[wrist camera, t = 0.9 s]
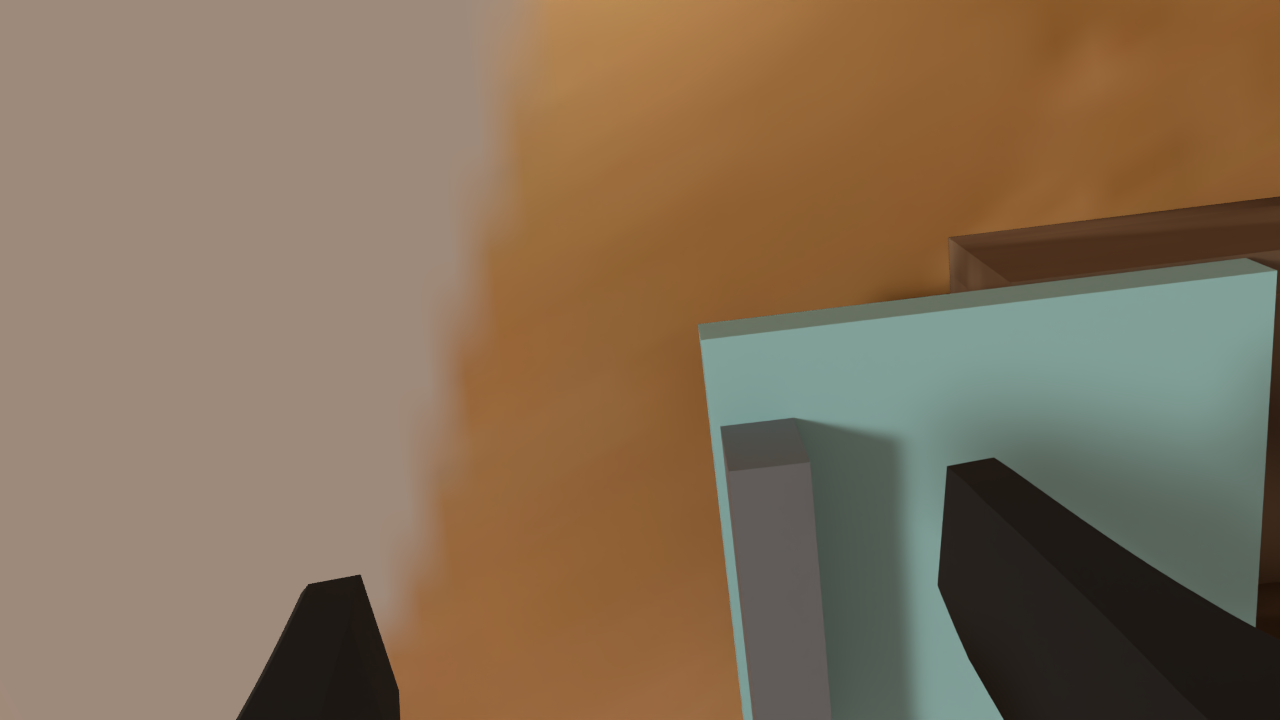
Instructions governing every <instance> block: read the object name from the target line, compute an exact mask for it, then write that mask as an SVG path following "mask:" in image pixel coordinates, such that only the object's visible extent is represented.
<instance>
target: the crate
mask: <svg viewBox="0 0 1280 720" xmlns="http://www.w3.org/2000/svg"><path fill="white" fill-rule="evenodd" d="M1241 258H1247V259H1250V260H1252V261H1255V262H1257V263H1260V264H1262V265H1265V266H1267V267H1270V268H1272V269H1275V270H1277V284H1276V300H1275V316H1274V333H1273V349H1272V365H1271V382H1270V398H1269V414H1268V431H1267V447H1266V463H1265V480H1264V496H1263V512H1262V529H1261V545H1260V561H1259V578H1258V594H1257V610H1256V627H1255V628H1257V629H1259V630H1261V631H1263V632H1265V633H1267V634H1269V635H1271V636H1273V637H1275V638H1277V639H1278V640H1280V197H1272V198H1264V199H1256V200H1248V201H1240V202H1232V203H1224V204H1216V205H1208V206H1200V207H1191V208H1183V209H1175V210H1167V211H1159V212H1151V213H1143V214H1135V215H1127V216H1119V217H1110V218H1102V219H1094V220H1086V221H1078V222H1070V223H1062V224H1054V225H1046V226H1038V227H1029V228H1021V229H1013V230H1005V231H997V232H989V233H981V234H973V235H965V236H957V237H949V263H950V290H951V294H952V293H961V292H969V291H977V290H985V289H994V288H1002V287H1010V286H1018V285H1027V284H1035V283H1043V282H1051V281H1060V280H1068V279H1076V278H1084V277H1093V276H1101V275H1109V274H1117V273H1126V272H1134V271H1142V270H1150V269H1159V268H1167V267H1175V266H1183V265H1192V264H1200V263H1208V262H1216V261H1225V260H1233V259H1241Z"/></svg>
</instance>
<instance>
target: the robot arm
mask: <svg viewBox="0 0 1280 720" xmlns="http://www.w3.org/2000/svg"><path fill="white" fill-rule="evenodd" d="M937 586H938V588H939V591H940V593H941V596H942V598H943V601H944V603H945V605H946V608H947V610H948V613H949V615H950V618H951V620H952V622H953V625H954V627H955V629H956V632H957V634H958V636H959V638H960V641H961V643H962V645H963V648H964V650H965V652H966V654H967V657H968V659H969V661H970V662H971V664H972V666H973V668H974V669H975V671H976V673H977V675H978V676H979V678H980V680H981V682H982V683H983V685H984V687H985V689H986V690H987V692H988V694H989V695H990V697H991V699H992V701H993V702H994V704H995V706H996V708H997V709H998V711H999V713H1000V714H1001V716H1002V718H1003V720H1280V640H1278V639H1277V638H1275V637H1273V636H1271V635H1269V634H1267V633H1265V632H1263V631H1261V630H1259V629H1257V628H1255V627H1254V626H1252V625H1250V624H1248V623H1246V622H1244V621H1243V620H1241V619H1239V618H1237V617H1235V616H1234V615H1232V614H1230V613H1228V612H1227V611H1225V610H1223V609H1221V608H1220V607H1218V606H1216V605H1215V604H1213V603H1211V602H1210V601H1208V600H1206V599H1205V598H1203V597H1201V596H1200V595H1198V594H1196V593H1195V592H1193V591H1191V590H1190V589H1188V588H1186V587H1185V586H1183V585H1181V584H1180V583H1178V582H1176V581H1175V580H1173V579H1172V578H1170V577H1168V576H1167V575H1165V574H1164V573H1162V572H1160V571H1159V570H1157V569H1156V568H1154V567H1153V566H1151V565H1149V564H1148V563H1146V562H1145V561H1143V560H1142V559H1140V558H1139V557H1137V556H1136V555H1134V554H1133V553H1131V552H1130V551H1128V550H1127V549H1125V548H1124V547H1122V546H1121V545H1119V544H1118V543H1116V542H1115V541H1113V540H1112V539H1110V538H1109V537H1107V536H1106V535H1104V534H1103V533H1101V532H1100V531H1098V530H1097V529H1096V528H1094V527H1093V526H1091V525H1090V524H1088V523H1087V522H1085V521H1084V520H1083V519H1081V518H1080V517H1078V516H1077V515H1075V514H1074V513H1073V512H1071V511H1070V510H1068V509H1067V508H1065V507H1064V506H1063V505H1061V504H1060V503H1058V502H1057V501H1056V500H1054V499H1053V498H1051V497H1050V496H1049V495H1047V494H1046V493H1044V492H1043V491H1042V490H1040V489H1039V488H1037V487H1036V486H1035V485H1033V484H1032V483H1030V482H1029V481H1028V480H1026V479H1025V478H1023V477H1022V476H1021V475H1019V474H1018V473H1016V472H1015V471H1013V470H1012V469H1011V468H1009V467H1008V466H1006V465H1005V464H1003V463H1002V462H1000V461H999V460H997V459H996V458H994V457H993V458H988V459H982V460H977V461H971V462H966V463H961V464H955V465H950V466H947V471H946V484H945V496H944V509H943V522H942V534H941V547H940V559H939V572H938V584H937ZM236 720H400V705H399V689H398V686H397V683H396V680H395V677H394V674H393V671H392V668H391V665H390V662H389V659H388V656H387V653H386V650H385V647H384V644H383V641H382V638H381V635H380V632H379V629H378V626H377V623H376V620H375V617H374V614H373V611H372V608H371V605H370V602H369V599H368V596H367V593H366V590H365V587H364V584H363V581H362V578H361V575H355V576H350V577H345V578H339V579H334V580H329V581H323V582H318V583H312V584H308V586H307V587H306V588H305V589H304V591H303V592H302V593H301V595H300V597H299V599H298V602H297V603H296V605H295V608H294V610H293V612H292V614H291V616H290V618H289V620H288V622H287V624H286V626H285V628H284V631H283V632H282V635H281V637H280V639H279V641H278V643H277V645H276V647H275V648H274V651H273V653H272V654H271V656H270V658H269V660H268V662H267V664H266V666H265V668H264V670H263V672H262V674H261V676H260V678H259V679H258V681H257V683H256V685H255V687H254V689H253V690H252V692H251V694H250V696H249V698H248V699H247V701H246V703H245V705H244V707H243V709H242V710H241V712H240V714H239V716H238V717H237V719H236Z"/></svg>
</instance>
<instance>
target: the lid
mask: <svg viewBox="0 0 1280 720" xmlns="http://www.w3.org/2000/svg"><path fill="white" fill-rule="evenodd" d="M1276 284H1277V270H1275V269H1272V268H1270V267H1267V266H1265V265H1262V264H1260V263H1257V262H1255V261H1252V260H1250V259H1247V258H1241V259H1233V260H1225V261H1216V262H1208V263H1200V264H1192V265H1183V266H1175V267H1167V268H1159V269H1150V270H1142V271H1134V272H1126V273H1117V274H1109V275H1101V276H1093V277H1084V278H1076V279H1068V280H1060V281H1051V282H1043V283H1035V284H1027V285H1018V286H1010V287H1002V288H994V289H985V290H977V291H969V292H961V293H952V294H944V295H936V296H928V297H919V298H911V299H903V300H895V301H887V302H878V303H870V304H862V305H854V306H845V307H837V308H829V309H821V310H812V311H804V312H796V313H788V314H779V315H771V316H763V317H755V318H746V319H738V320H730V321H722V322H713V323H705V324H698V327H699V336H700V345H701V354H702V362H703V371H704V380H705V389H706V397H707V406H708V415H709V423H710V432H711V441H712V450H713V458H714V467H715V476H716V485H717V493H718V502H719V511H720V519H721V528H722V537H723V546H724V554H725V563H726V572H727V581H728V589H729V598H730V607H731V616H732V624H733V633H734V642H735V650H736V659H737V668H738V677H739V685H740V694H741V703H742V712H743V720H1003V718H1002V716H1001V714H1000V713H999V711H998V709H997V708H996V706H995V704H994V702H993V701H992V699H991V697H990V695H989V694H988V692H987V690H986V689H985V687H984V685H983V683H982V682H981V680H980V678H979V676H978V675H977V673H976V671H975V669H974V668H973V666H972V664H971V662H970V661H969V659H968V657H967V654H966V652H965V650H964V648H963V645H962V643H961V641H960V638H959V636H958V634H957V632H956V629H955V627H954V625H953V622H952V620H951V618H950V615H949V613H948V610H947V608H946V605H945V603H944V601H943V598H942V596H941V593H940V591H939V588H938V586H937V584H938V572H939V559H940V547H941V534H942V522H943V509H944V496H945V484H946V471H947V466H950V465H955V464H961V463H966V462H971V461H977V460H982V459H988V458H993V457H994V458H996V459H997V460H999V461H1000V462H1002V463H1003V464H1005V465H1006V466H1008V467H1009V468H1011V469H1012V470H1013V471H1015V472H1016V473H1018V474H1019V475H1021V476H1022V477H1023V478H1025V479H1026V480H1028V481H1029V482H1030V483H1032V484H1033V485H1035V486H1036V487H1037V488H1039V489H1040V490H1042V491H1043V492H1044V493H1046V494H1047V495H1049V496H1050V497H1051V498H1053V499H1054V500H1056V501H1057V502H1058V503H1060V504H1061V505H1063V506H1064V507H1065V508H1067V509H1068V510H1070V511H1071V512H1073V513H1074V514H1075V515H1077V516H1078V517H1080V518H1081V519H1083V520H1084V521H1085V522H1087V523H1088V524H1090V525H1091V526H1093V527H1094V528H1096V529H1097V530H1098V531H1100V532H1101V533H1103V534H1104V535H1106V536H1107V537H1109V538H1110V539H1112V540H1113V541H1115V542H1116V543H1118V544H1119V545H1121V546H1122V547H1124V548H1125V549H1127V550H1128V551H1130V552H1131V553H1133V554H1134V555H1136V556H1137V557H1139V558H1140V559H1142V560H1143V561H1145V562H1146V563H1148V564H1149V565H1151V566H1153V567H1154V568H1156V569H1157V570H1159V571H1160V572H1162V573H1164V574H1165V575H1167V576H1168V577H1170V578H1172V579H1173V580H1175V581H1176V582H1178V583H1180V584H1181V585H1183V586H1185V587H1186V588H1188V589H1190V590H1191V591H1193V592H1195V593H1196V594H1198V595H1200V596H1201V597H1203V598H1205V599H1206V600H1208V601H1210V602H1211V603H1213V604H1215V605H1216V606H1218V607H1220V608H1221V609H1223V610H1225V611H1227V612H1228V613H1230V614H1232V615H1234V616H1235V617H1237V618H1239V619H1241V620H1243V621H1244V622H1246V623H1248V624H1250V625H1252V626H1254V627H1256V610H1257V594H1258V578H1259V561H1260V545H1261V529H1262V512H1263V496H1264V480H1265V463H1266V447H1267V431H1268V414H1269V398H1270V382H1271V365H1272V349H1273V333H1274V316H1275V300H1276Z"/></svg>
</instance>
